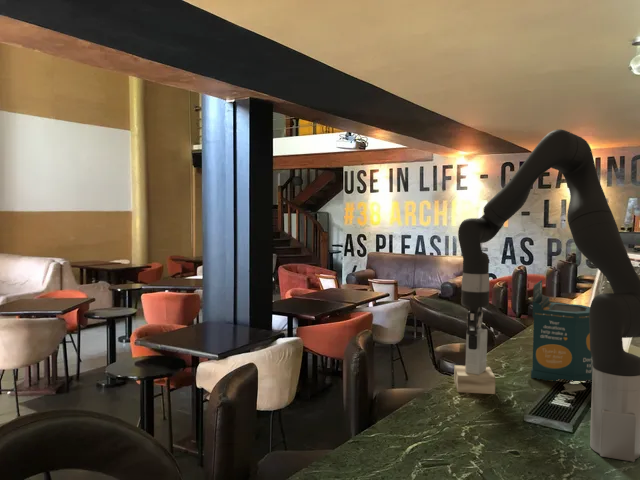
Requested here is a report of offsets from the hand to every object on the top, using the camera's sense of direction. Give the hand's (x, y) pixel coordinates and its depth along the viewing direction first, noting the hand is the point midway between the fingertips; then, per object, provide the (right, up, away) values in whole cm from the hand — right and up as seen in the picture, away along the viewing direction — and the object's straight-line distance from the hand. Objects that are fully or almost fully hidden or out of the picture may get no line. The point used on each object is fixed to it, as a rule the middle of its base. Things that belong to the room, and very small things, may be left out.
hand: (474, 345), depth 150 cm
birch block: (0, -12, +1) cm, 12 cm away
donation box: (+31, -12, +12) cm, 35 cm away
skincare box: (0, -8, 0) cm, 8 cm away
